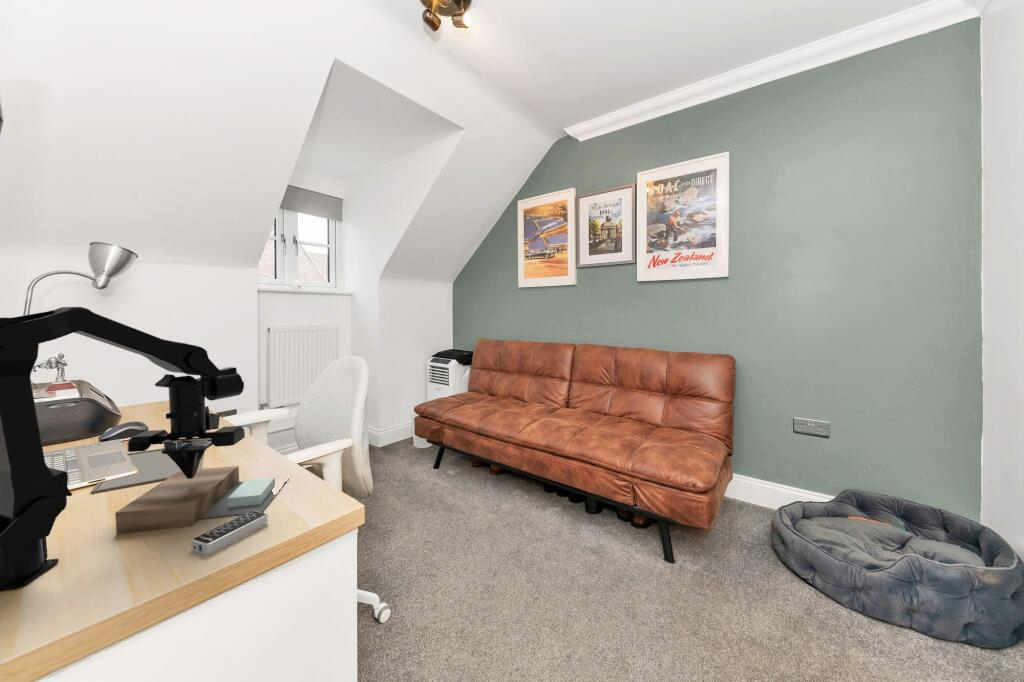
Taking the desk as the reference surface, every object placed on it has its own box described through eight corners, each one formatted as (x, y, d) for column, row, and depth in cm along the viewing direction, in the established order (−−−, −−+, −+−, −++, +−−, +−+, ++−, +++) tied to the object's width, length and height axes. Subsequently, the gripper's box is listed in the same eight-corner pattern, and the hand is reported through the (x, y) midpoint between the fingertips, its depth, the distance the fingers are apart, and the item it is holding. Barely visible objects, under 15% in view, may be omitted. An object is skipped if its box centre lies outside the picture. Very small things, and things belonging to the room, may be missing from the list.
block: (227, 498, 81) (228, 507, 81) (260, 494, 83) (260, 504, 83) (245, 480, 90) (245, 488, 90) (274, 477, 91) (274, 486, 91)
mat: (262, 513, 80) (262, 511, 80) (199, 519, 77) (199, 517, 77) (289, 478, 96) (289, 477, 96) (238, 483, 94) (238, 481, 94)
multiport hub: (268, 525, 76) (268, 513, 76) (207, 558, 65) (207, 544, 65) (252, 521, 77) (252, 509, 77) (190, 552, 67) (189, 539, 67)
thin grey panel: (119, 458, 110) (91, 496, 88) (119, 454, 110) (90, 491, 88) (205, 445, 122) (200, 475, 99) (205, 442, 121) (200, 471, 99)
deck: (192, 525, 75) (191, 505, 74) (116, 533, 72) (115, 512, 72) (239, 482, 94) (238, 465, 94) (180, 487, 91) (180, 470, 91)
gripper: (253, 395, 92) (256, 460, 93) (160, 399, 88) (163, 467, 89) (231, 406, 81) (234, 480, 82) (123, 410, 77) (127, 488, 78)
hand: (191, 478), depth 83 cm, fingers closed
